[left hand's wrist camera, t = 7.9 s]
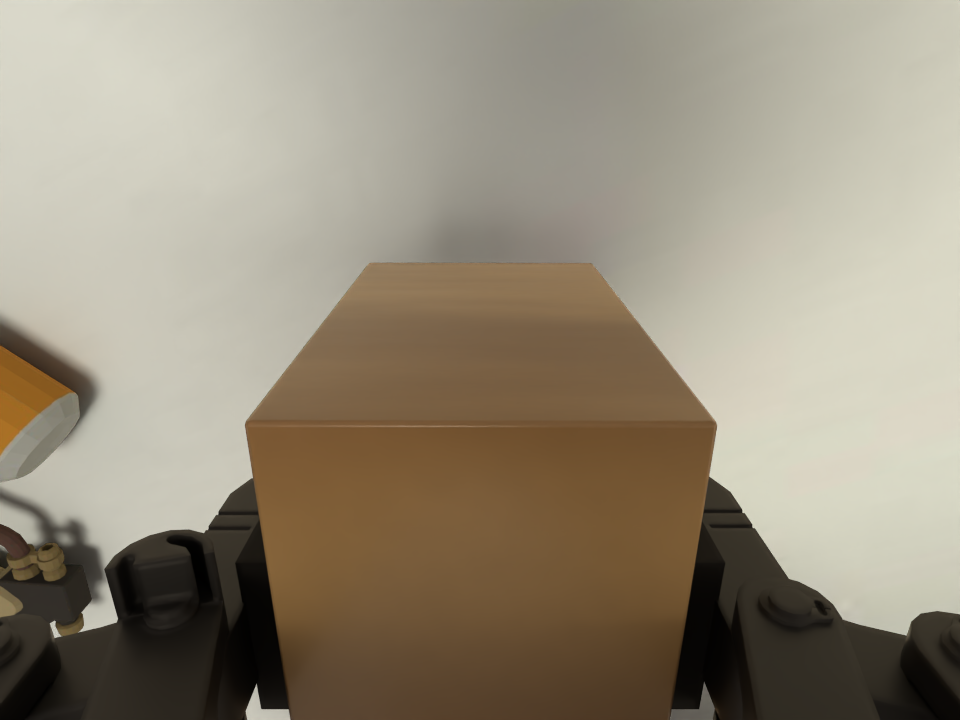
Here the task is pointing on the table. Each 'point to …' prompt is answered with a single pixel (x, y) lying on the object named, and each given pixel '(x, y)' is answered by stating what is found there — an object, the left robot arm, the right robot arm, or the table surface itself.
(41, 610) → the spray gun
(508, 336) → the bar
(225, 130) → the table surface
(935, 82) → the table surface
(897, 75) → the table surface
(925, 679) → the left robot arm
